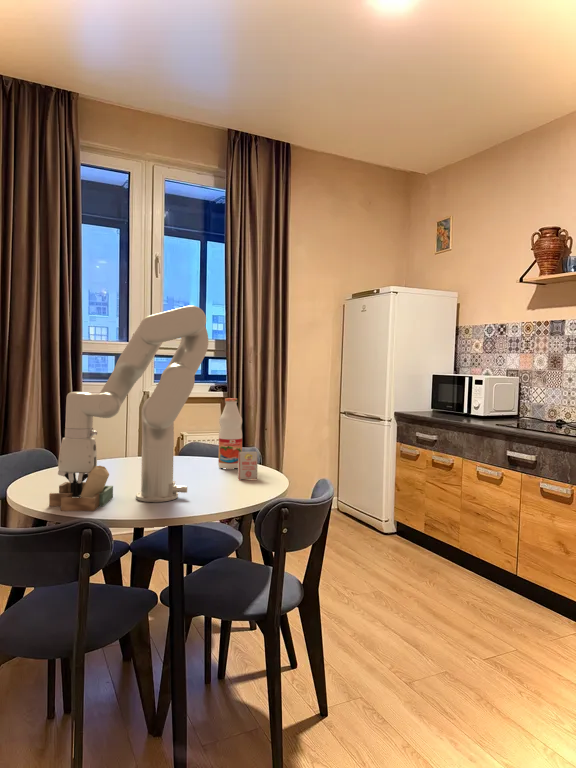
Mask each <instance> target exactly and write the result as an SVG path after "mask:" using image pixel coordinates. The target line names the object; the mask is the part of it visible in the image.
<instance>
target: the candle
mask: <svg viewBox="0 0 576 768" xmlns="http://www.w3.org/2000/svg"><path fill="white" fill-rule="evenodd" d="M109 476H110V473H109V471H108V469H107V468H106V467H105V466H103V465H97V466H95V467H94V468H93V470H91V472H90V473H89V475H88V477H87V478H86V479H85V481H84V482H85V485H84V487H83V490H82V492H81V495H80V496H81V497H90V498H92V497H93V496H94V495H95V494H97V493H101V492H103V489H104V487H105V486H106V484H107V481H108V479H109Z"/></svg>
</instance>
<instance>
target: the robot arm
mask: <svg viewBox="0 0 576 768" xmlns="http://www.w3.org/2000/svg"><path fill="white" fill-rule="evenodd" d="M206 324H207V316H206V314H205V312H204V310H203V309H202V308H200V307H199V306H196V305H186V306H185V305H184V306H183V307H178V308H175V309H171V310H166V311H163V312H159V313H154V314H151V315H148V316H145V317H143V319H142V320H141V321H140V323H139V325H138V327H137V328H136V330H135V332H134V333H133V335H132V336H131V337H130V340H129V341H128V342H127V344H126V346H125V348H124V349H123V350H122V352H121V353H120V356H119V357H118V359H117V361H116V363H115V366H114V369H113V370H112V372H111V374H110V376H109V377H108V380H107V381H106V382H105V384H104V386H103V387H102V389H101V390H100V392H99V393H91V392H86V391H71V392H69V393H67V395H66V398H65V399H66V402H65V426H64V427H65V428H64V437H62V439H61V443H60V448H59V452H58V453H59V455H58V461H57V469H58V472H57V475H58V476H60V477H65V478H66V480H68V482H70V483H71V487H70V493H72V497H74V496H75V497H78V496H79V495H80V494H81V492H82V486H83V482H85V481H86V480H87V477H88V475H89V473H90V472H91V470H93V468H94V467H95V466H98V455H97V453H98V452H97V444H96V438H95V437H93V436H97V435H98V430H94V427H93V425H94V424H93V423H94V417H96V418H100V419H111V418H113V417H115V416H117V414H118V413H119V411H120V408H121V406H122V405H123V403H124V401H125V400H126V399H127V397H128V395H129V393H130V391H131V390H132V389H133V387H134V385H135V384H136V383H137V381H138V380H139V379H140V378H141V377H142V376H144V373H145V372H146V371H147V369H148V367H149V365H150V364H151V362H152V361H153V359H154V357H155V355H156V354H157V352H158V351H159V349H160V348H161V345H162V344H163V343H164V342H169V341H173V340H177V339H180V342H179V345H178V347H177V348H176V351H175V353H174V354H173V356H172V358H171V359H170V361H169V363H168V365H167V366H166V368H165V369H164V370H163V371H162V373H161V376H160V380H159V382H158V383H157V385H156V387H155V388H154V391H153V392H152V394H151V395H150V397H148V398H146V400H145V401H144V403H143V404H142V407H141V468H140V469H141V471H140V472H141V474H140V475H141V479H140V481H141V483H140V484H141V485H140V490H141V491H139V492H137V493H136V495H135V499H136V500H137V501H140V502H146V503H163V502H169V501H173V500H174V501H175V499H177V498H178V497H179V493H181V494H182V493H184V494H185V493H186V494H187V493H188V486H187V485H178V484H176V481H175V480H174V448H175V447H174V446H175V445H174V444H175V443H174V441H175V438H174V437H175V431H174V428H175V424H174V422H175V421H176V419H177V418H178V416H179V414H180V412H181V411H182V409H183V408H184V405H185V403H186V402H187V401H188V399H189V397H190V395H191V393H192V391H193V389H194V386H195V376H196V374H197V371H198V370H199V368H200V366H201V364H202V363H203V360H204V358H205V357H206V355H207V351H208V348H209V334H208V331H207V328H206ZM77 474H78V476H77Z"/></svg>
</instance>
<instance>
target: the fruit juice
mask: <svg viewBox="0 0 576 768" xmlns="http://www.w3.org/2000/svg"><path fill="white" fill-rule="evenodd" d="M224 403H225V406H224V407H223V411H222V413H221V415H220V417H219V424H220V426H219V427H220V428H219V429H220V430H219V432H218V464H217V465H218V468H219V467H220V468H219V469H221V468H226V469H225V470H234V469H233V468H238V454H239V452H243V430H242V424H243V418H242V416H241V414H240V411H239V407H238V404H237V403H238V398H235V397H234V398H233V397H232V398H231V397H227V398H224Z"/></svg>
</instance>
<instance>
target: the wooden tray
mask: <svg viewBox="0 0 576 768" xmlns="http://www.w3.org/2000/svg"><path fill="white" fill-rule="evenodd" d="M85 482H86V481H83V486H82V490H83V487H84V485H85ZM70 487H71V483H70V482H69V481H65V482H63V483H61V484H59V485H58V492H50V493H49V501H48V503H49V504H48V506H49V507H60V511H61V512H72V511H73V512H94V511H96V510H97V509H98V508H99V507H104V506H105V505H106V504H107V503H108V502H109V501H111V500H112V499H113V498H114V485H105V487H104V489H103V492H101V493H97V494H95V495H94V496H93V497H92V498H90V497H81V496H80V495H81V494H80V495H79V496H78V497H75V496H74V497H72V493H70Z"/></svg>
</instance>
